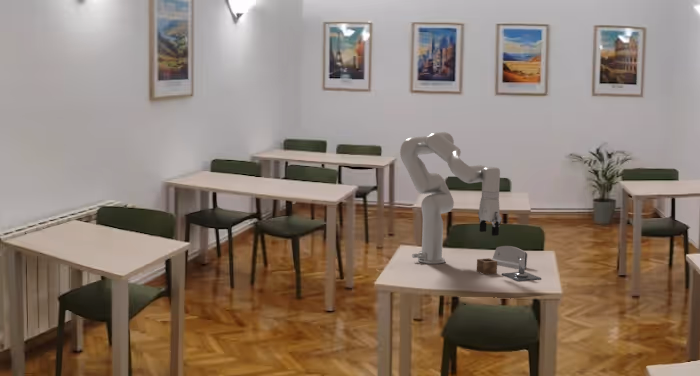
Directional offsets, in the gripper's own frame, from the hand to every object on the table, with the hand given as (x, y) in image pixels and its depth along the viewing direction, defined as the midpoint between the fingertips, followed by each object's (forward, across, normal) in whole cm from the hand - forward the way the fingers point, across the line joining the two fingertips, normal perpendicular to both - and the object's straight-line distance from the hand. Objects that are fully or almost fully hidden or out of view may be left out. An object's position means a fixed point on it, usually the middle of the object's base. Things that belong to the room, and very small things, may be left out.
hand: (488, 233), depth 352 cm
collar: (+18, 0, 0) cm, 18 cm away
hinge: (+18, -9, +18) cm, 27 cm away
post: (+18, +12, +10) cm, 23 cm away
